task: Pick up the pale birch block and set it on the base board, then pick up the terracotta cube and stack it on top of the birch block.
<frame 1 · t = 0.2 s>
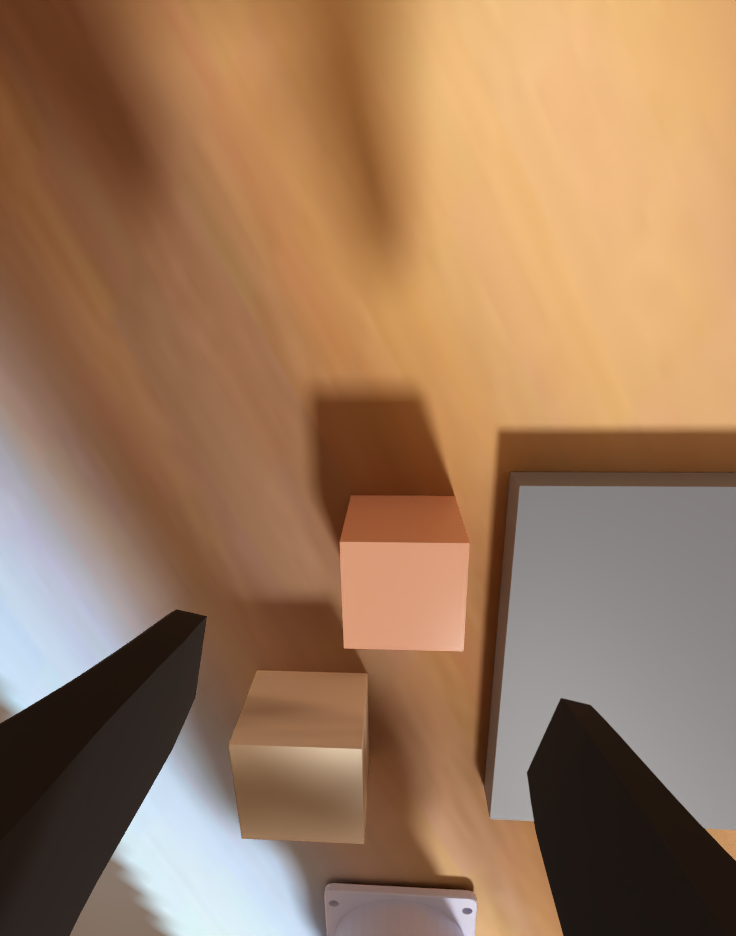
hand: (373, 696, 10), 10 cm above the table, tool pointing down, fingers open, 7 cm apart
terracotta cube: (402, 541, 19), on the table
base board: (689, 653, 20), on the table
birch block: (315, 713, 22), on the table
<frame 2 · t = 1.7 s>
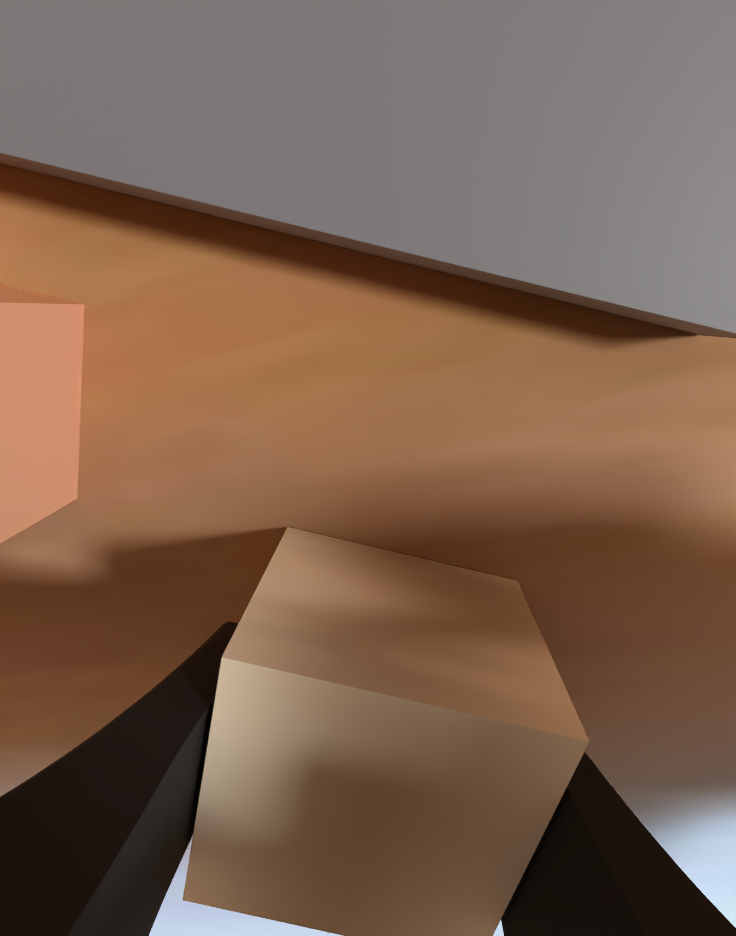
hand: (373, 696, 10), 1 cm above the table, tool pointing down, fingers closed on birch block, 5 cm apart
birch block: (375, 648, 11), on the table, touching gripper
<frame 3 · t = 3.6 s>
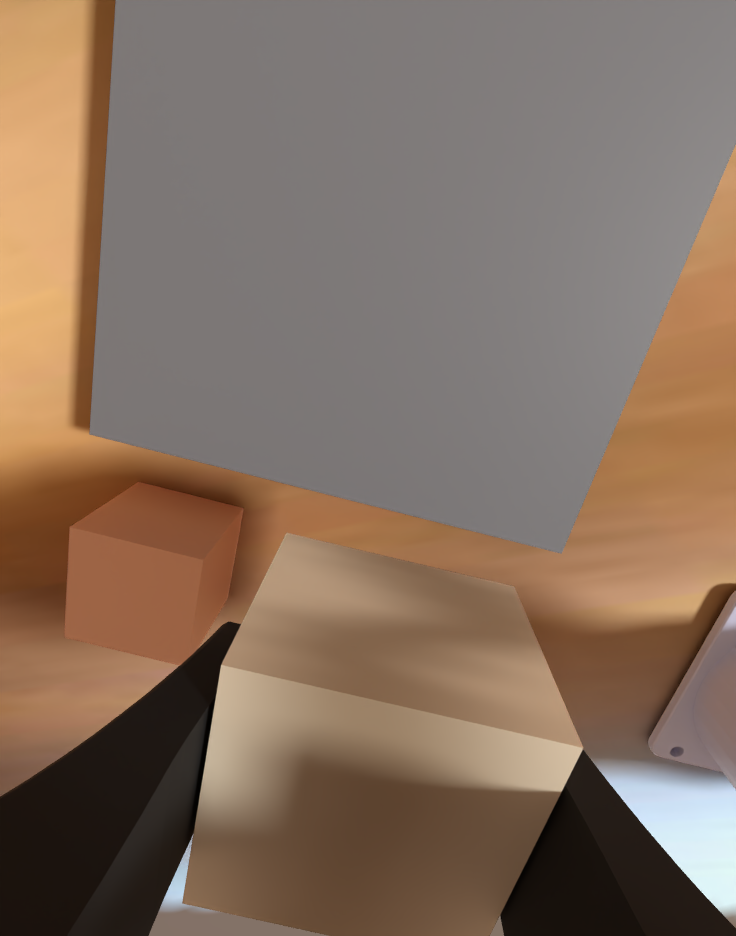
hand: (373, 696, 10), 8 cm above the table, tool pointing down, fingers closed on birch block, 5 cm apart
terracotta cube: (185, 540, 18), on the table
base board: (390, 241, 15), on the table
birch block: (373, 653, 11), point 7 cm above the table, touching gripper
when the fingers open (4 cm above the table, at t = 5.4 s): birch block drops 1 cm, resting on base board.
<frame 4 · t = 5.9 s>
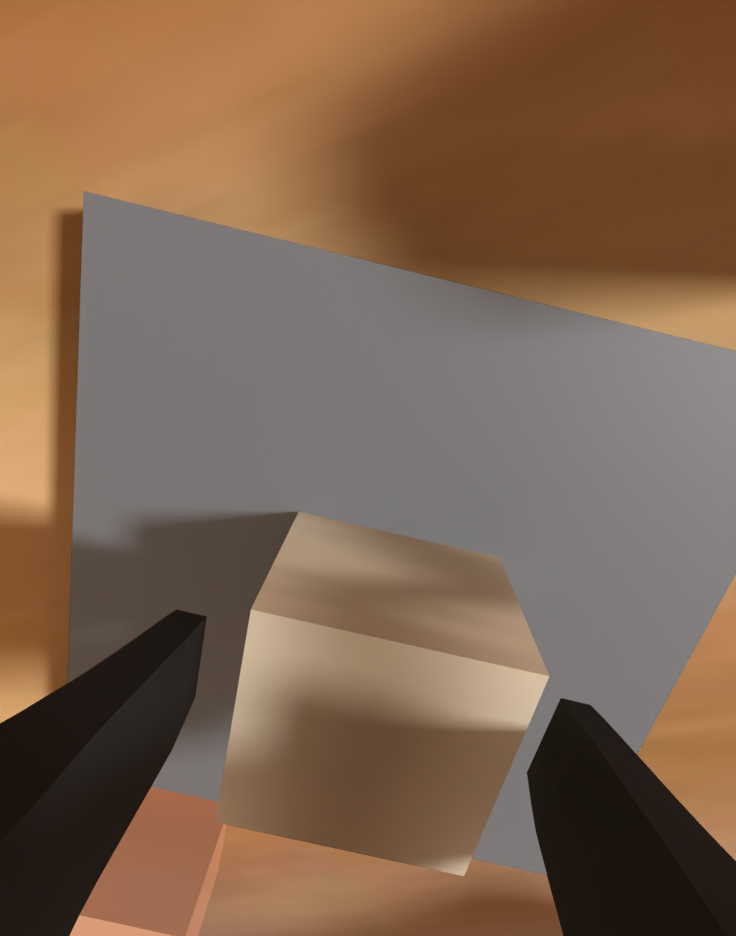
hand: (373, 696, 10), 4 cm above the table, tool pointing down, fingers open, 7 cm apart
terracotta cube: (171, 824, 18), on the table
base board: (380, 579, 14), on the table
birch block: (376, 619, 12), point 1 cm above the table, touching base board
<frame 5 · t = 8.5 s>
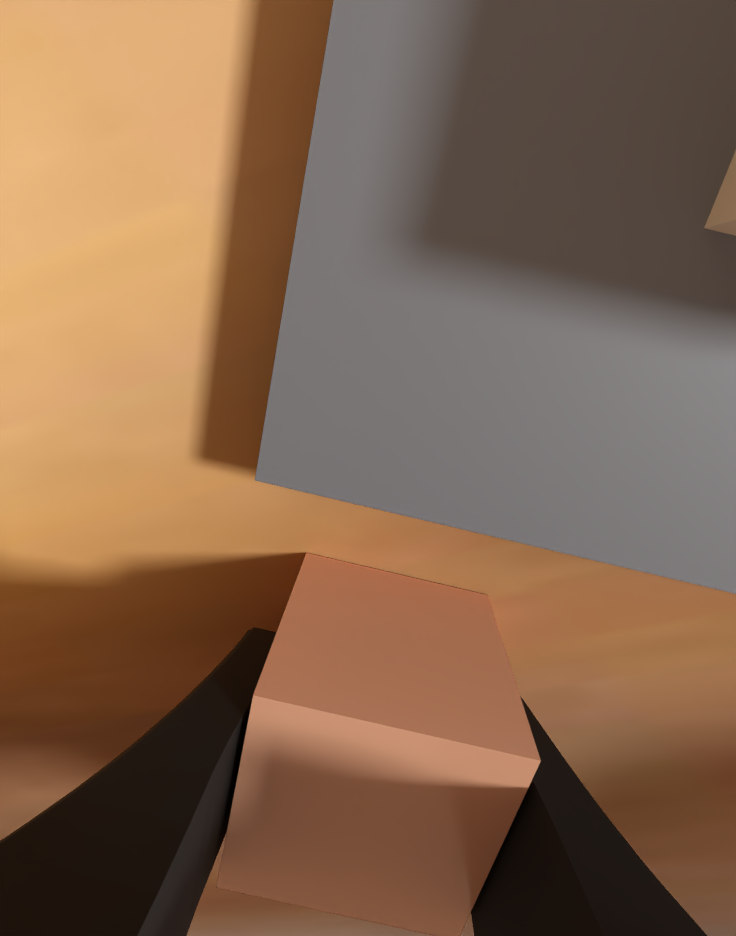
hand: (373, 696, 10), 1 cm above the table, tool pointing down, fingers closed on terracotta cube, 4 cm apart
terracotta cube: (375, 648, 11), on the table, touching gripper
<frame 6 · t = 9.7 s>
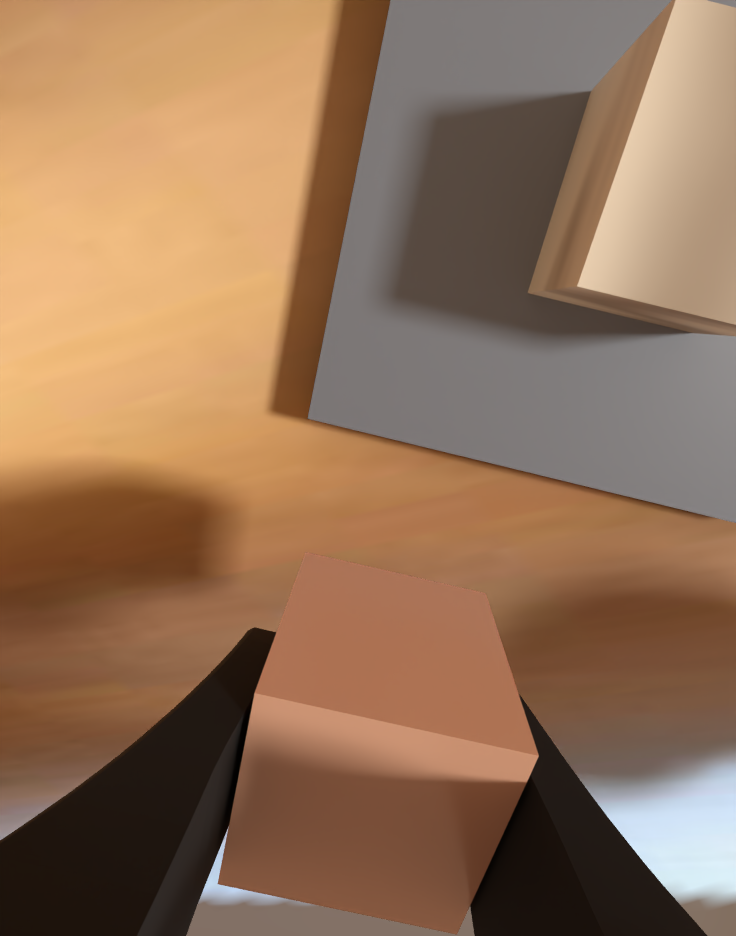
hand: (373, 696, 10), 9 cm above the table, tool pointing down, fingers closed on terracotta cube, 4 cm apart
terracotta cube: (374, 647, 11), point 7 cm above the table, touching gripper
base board: (624, 218, 14), on the table
birch block: (645, 219, 13), point 1 cm above the table, touching base board
when the fingers open (8 cm above the table, at t = 11.2 s): terracotta cube stays where it is, resting on birch block.
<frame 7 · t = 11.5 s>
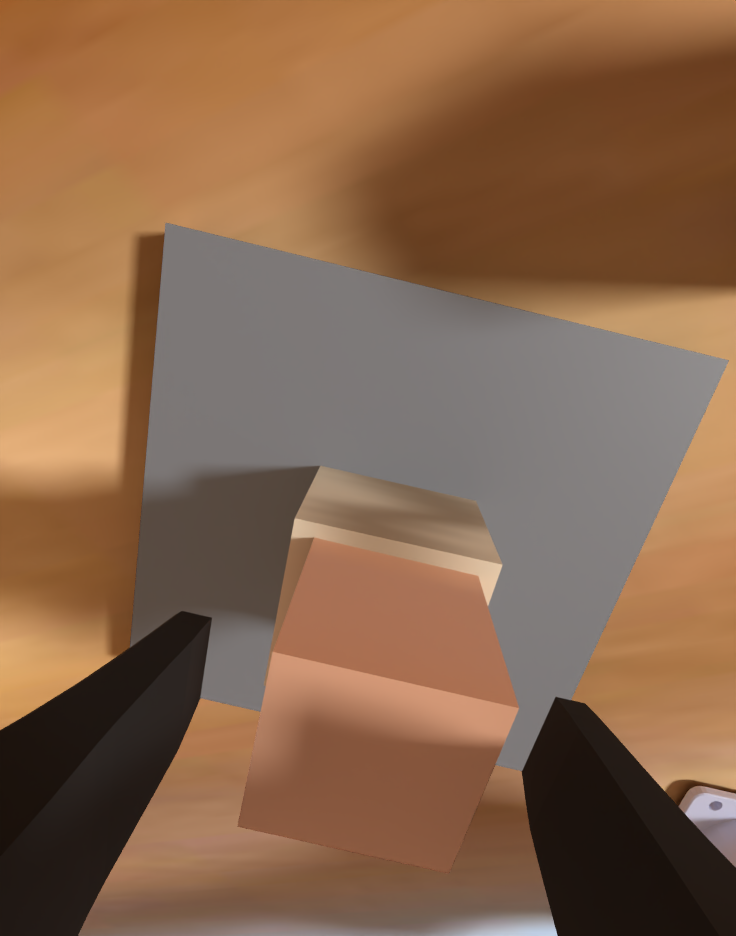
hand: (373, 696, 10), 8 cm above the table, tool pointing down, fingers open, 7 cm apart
terracotta cube: (377, 625, 12), point 5 cm above the table, touching birch block
base board: (383, 525, 17), on the table
birch block: (380, 552, 16), point 1 cm above the table, touching base board, terracotta cube
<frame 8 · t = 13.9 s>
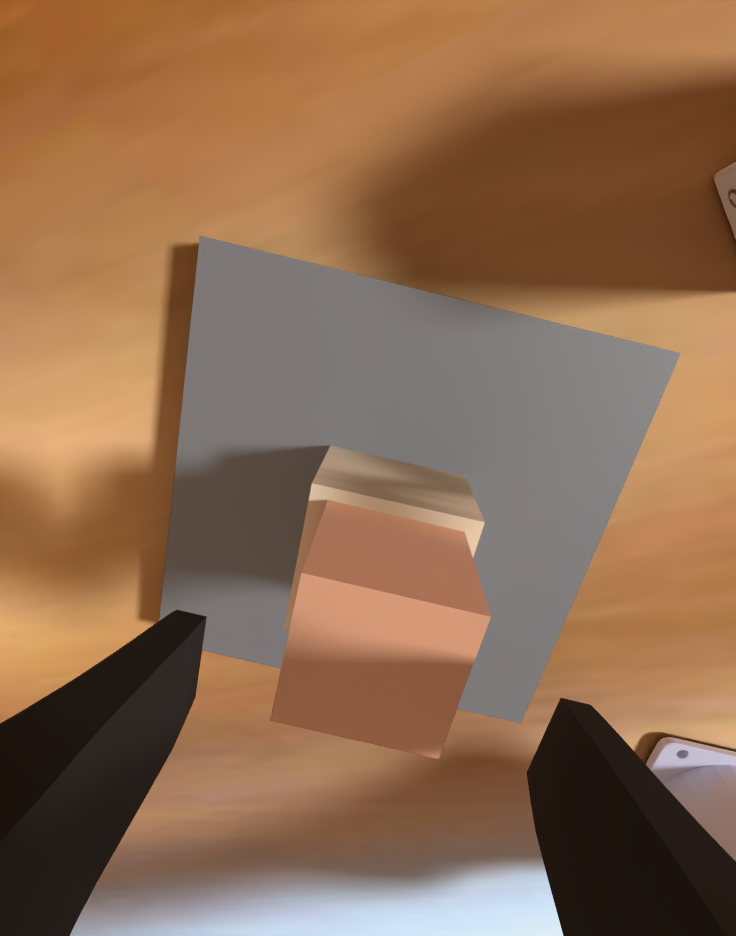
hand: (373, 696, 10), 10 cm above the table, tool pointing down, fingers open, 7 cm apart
terracotta cube: (380, 575, 14), point 5 cm above the table, touching birch block
base board: (385, 500, 19), on the table
birch block: (382, 522, 18), point 1 cm above the table, touching base board, terracotta cube
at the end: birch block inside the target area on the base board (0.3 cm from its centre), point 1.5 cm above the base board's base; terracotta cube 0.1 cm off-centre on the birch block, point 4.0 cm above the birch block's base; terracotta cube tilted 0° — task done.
